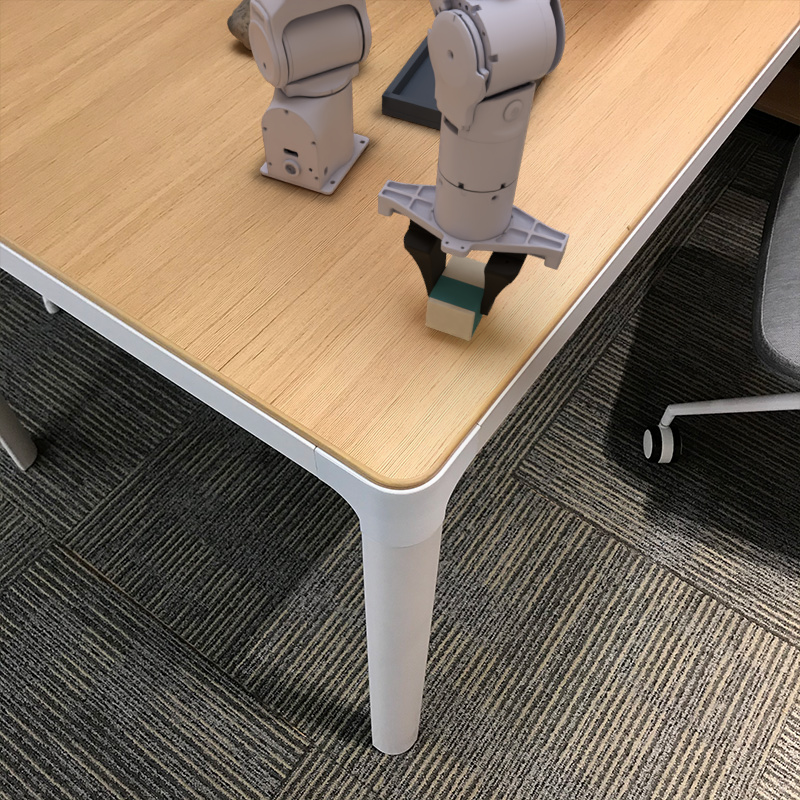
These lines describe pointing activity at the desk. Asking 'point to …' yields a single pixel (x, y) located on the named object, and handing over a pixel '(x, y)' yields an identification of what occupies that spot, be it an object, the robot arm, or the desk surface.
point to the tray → (416, 91)
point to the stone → (241, 23)
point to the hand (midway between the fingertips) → (460, 298)
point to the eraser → (457, 298)
